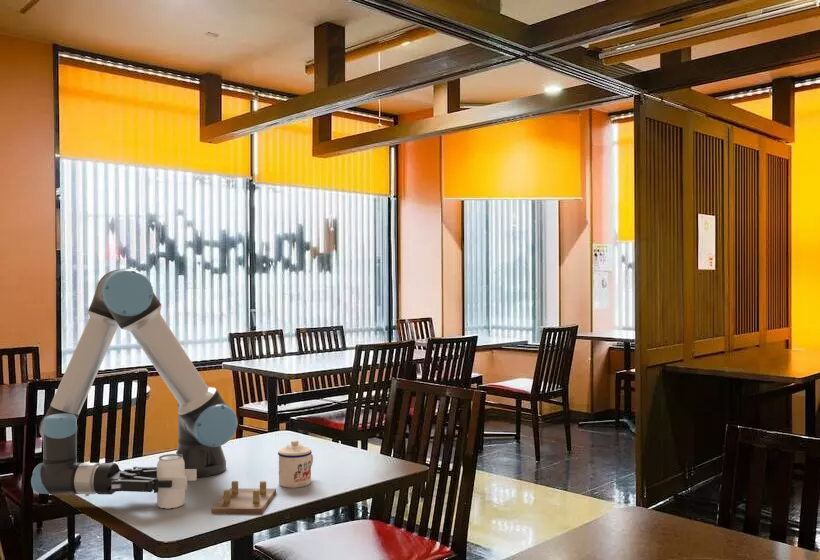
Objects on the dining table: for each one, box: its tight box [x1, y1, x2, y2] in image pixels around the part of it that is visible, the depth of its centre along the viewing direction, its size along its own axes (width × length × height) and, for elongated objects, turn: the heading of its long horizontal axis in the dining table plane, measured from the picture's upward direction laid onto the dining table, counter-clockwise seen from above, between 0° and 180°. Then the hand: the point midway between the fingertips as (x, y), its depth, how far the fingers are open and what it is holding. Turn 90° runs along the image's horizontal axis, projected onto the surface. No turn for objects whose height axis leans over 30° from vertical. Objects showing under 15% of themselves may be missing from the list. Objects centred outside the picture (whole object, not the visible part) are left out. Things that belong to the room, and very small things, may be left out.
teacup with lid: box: [277, 439, 314, 489], centre depth 191 cm, size 12×9×12 cm
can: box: [156, 453, 186, 510], centre depth 172 cm, size 6×6×12 cm
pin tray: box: [211, 480, 277, 515], centre depth 174 cm, size 16×12×4 cm
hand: (191, 478), depth 172 cm, fingers closed on can, 6 cm apart
